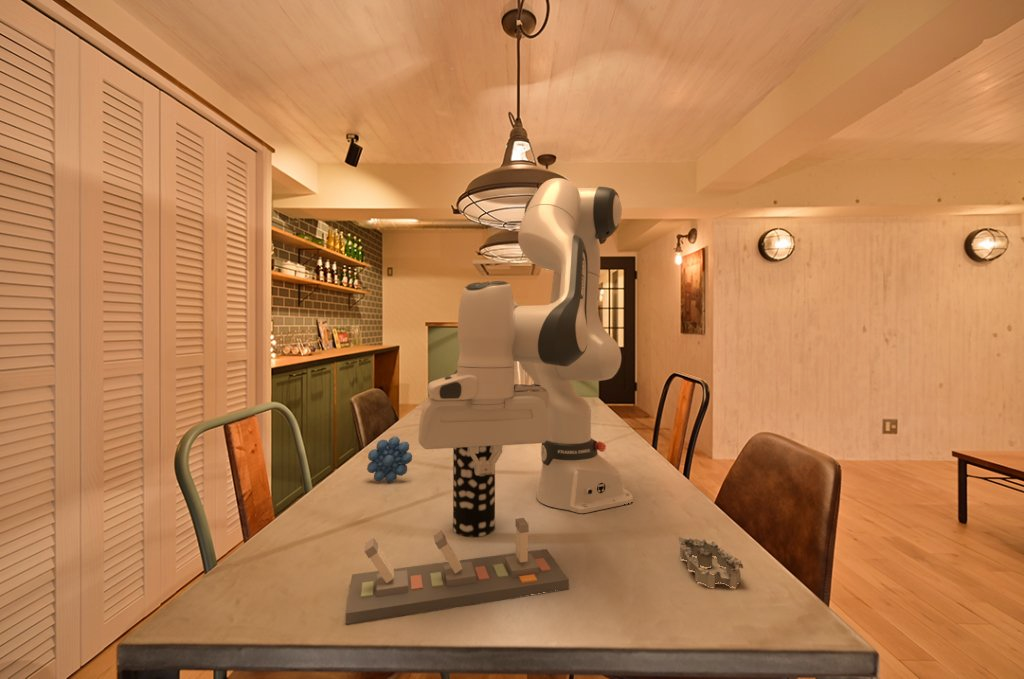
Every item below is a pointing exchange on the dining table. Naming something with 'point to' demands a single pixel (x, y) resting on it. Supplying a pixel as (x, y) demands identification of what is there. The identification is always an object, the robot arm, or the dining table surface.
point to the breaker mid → (447, 551)
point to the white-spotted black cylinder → (472, 494)
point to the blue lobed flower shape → (389, 459)
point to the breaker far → (379, 560)
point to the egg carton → (709, 562)
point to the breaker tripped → (522, 539)
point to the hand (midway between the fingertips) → (484, 473)
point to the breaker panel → (452, 585)
